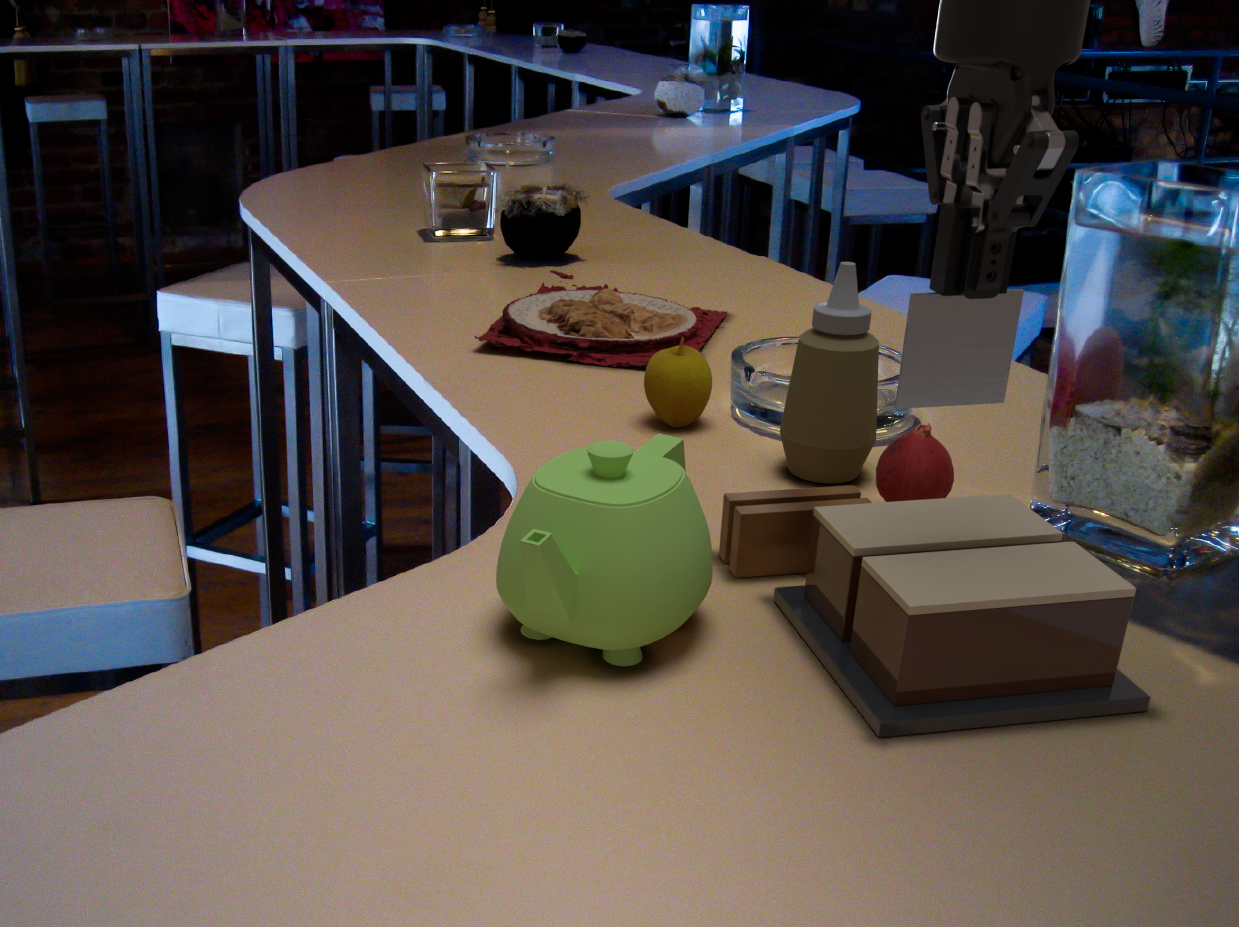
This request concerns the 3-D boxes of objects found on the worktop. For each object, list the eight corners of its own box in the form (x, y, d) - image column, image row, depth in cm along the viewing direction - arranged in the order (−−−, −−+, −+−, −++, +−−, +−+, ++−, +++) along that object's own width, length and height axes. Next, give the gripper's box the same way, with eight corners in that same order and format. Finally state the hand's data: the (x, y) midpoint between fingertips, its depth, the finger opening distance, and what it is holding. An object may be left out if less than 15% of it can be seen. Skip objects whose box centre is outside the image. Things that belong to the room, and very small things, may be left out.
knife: (995, 397, 78) (1029, 199, 73) (1010, 407, 77) (1046, 205, 71) (889, 403, 77) (916, 203, 72) (902, 413, 75) (930, 209, 70)
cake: (1000, 582, 90) (1019, 483, 87) (1147, 711, 75) (1177, 597, 72) (773, 600, 87) (783, 498, 84) (878, 738, 72) (896, 621, 69)
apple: (688, 408, 123) (694, 328, 120) (721, 429, 118) (728, 346, 114) (629, 416, 121) (633, 335, 118) (660, 438, 116) (665, 353, 112)
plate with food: (472, 354, 140) (472, 324, 138) (542, 293, 161) (543, 267, 160) (684, 380, 133) (686, 348, 131) (727, 313, 155) (730, 285, 153)
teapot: (620, 725, 73) (630, 527, 68) (431, 661, 79) (427, 475, 74) (754, 591, 88) (771, 421, 83) (587, 546, 95) (592, 385, 89)
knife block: (845, 545, 95) (853, 484, 93) (866, 568, 92) (875, 505, 90) (718, 555, 94) (723, 493, 91) (735, 578, 90) (741, 514, 88)
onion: (870, 528, 98) (883, 431, 95) (869, 500, 103) (882, 407, 100) (948, 536, 97) (964, 438, 93) (944, 507, 102) (959, 413, 98)
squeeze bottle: (768, 454, 112) (789, 251, 105) (860, 456, 112) (887, 253, 104) (782, 489, 105) (805, 274, 97) (880, 492, 105) (911, 276, 97)
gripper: (1165, -32, 61) (1094, 320, 68) (1017, -36, 73) (970, 263, 80) (1021, -32, 60) (964, 326, 67) (895, -37, 72) (859, 267, 79)
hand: (968, 290), depth 74 cm, fingers closed on knife, 2 cm apart
